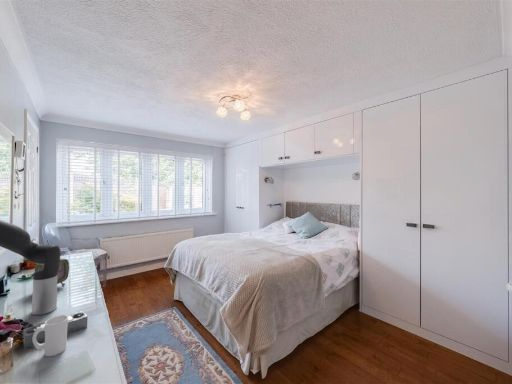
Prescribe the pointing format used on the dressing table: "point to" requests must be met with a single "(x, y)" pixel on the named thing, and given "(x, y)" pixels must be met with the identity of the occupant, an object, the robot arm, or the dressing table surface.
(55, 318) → the mug
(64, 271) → the tabletop clock
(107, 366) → the dressing table surface
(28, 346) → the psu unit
